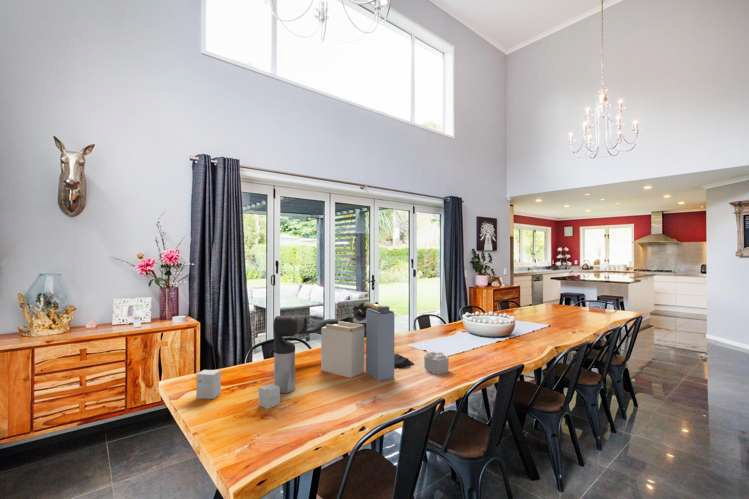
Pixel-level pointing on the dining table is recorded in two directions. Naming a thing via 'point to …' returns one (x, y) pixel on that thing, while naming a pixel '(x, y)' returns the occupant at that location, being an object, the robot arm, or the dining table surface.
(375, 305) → the pin
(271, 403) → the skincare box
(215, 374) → the small box
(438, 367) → the lumpy-topped squat cylinder
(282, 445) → the dining table surface
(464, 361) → the dining table surface
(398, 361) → the dark slate chunk
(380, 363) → the post
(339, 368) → the upright beige carton
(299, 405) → the dining table surface
